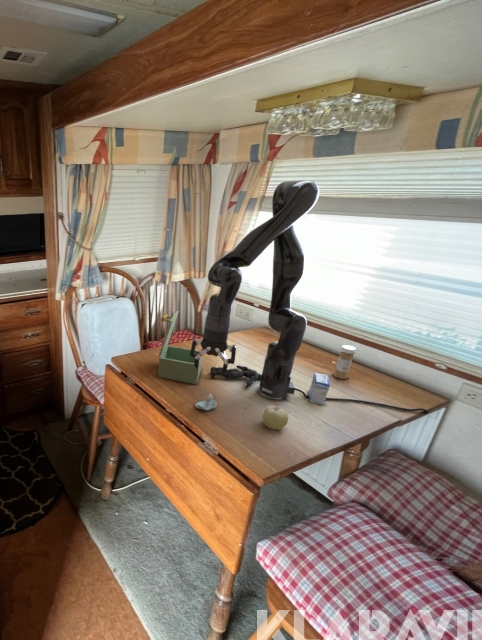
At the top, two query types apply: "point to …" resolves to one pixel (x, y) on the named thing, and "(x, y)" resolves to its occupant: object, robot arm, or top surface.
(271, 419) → the fruit
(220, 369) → the robot figurine
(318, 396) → the medicine box
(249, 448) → the top surface
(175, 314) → the lid
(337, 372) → the sprinkles bottle
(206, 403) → the pacifier
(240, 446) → the top surface
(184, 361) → the chest
